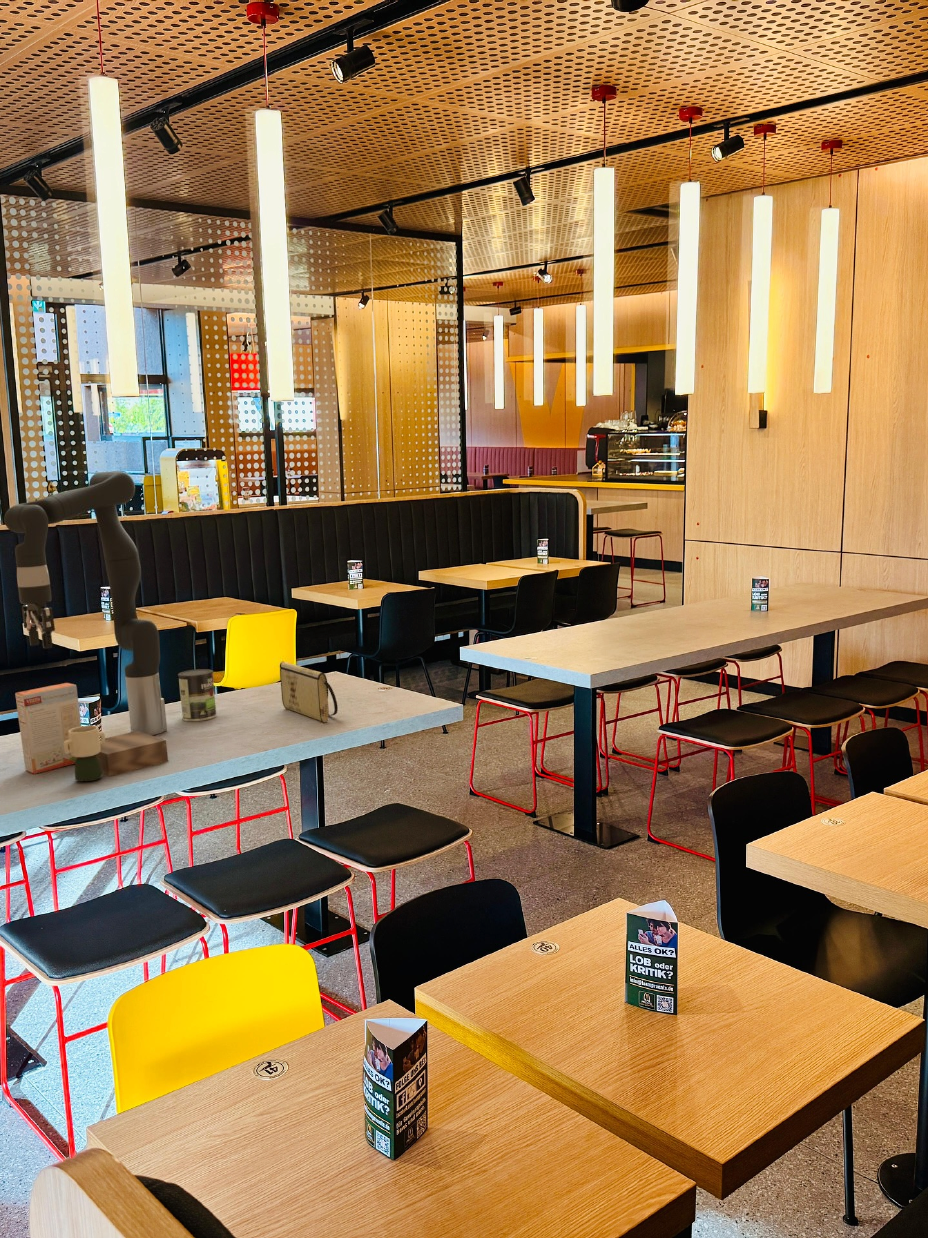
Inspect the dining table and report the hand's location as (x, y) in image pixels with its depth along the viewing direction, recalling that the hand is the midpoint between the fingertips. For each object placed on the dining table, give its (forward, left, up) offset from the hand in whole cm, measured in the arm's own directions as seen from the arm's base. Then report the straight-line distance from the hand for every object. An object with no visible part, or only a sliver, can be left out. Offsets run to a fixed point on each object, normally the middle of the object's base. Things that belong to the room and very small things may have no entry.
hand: (41, 646), depth 265 cm
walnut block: (-13, +13, -32) cm, 37 cm away
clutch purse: (-74, +10, -32) cm, 81 cm away
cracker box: (0, 0, -32) cm, 32 cm away
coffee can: (-51, -16, -32) cm, 62 cm away
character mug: (0, +20, -32) cm, 38 cm away
